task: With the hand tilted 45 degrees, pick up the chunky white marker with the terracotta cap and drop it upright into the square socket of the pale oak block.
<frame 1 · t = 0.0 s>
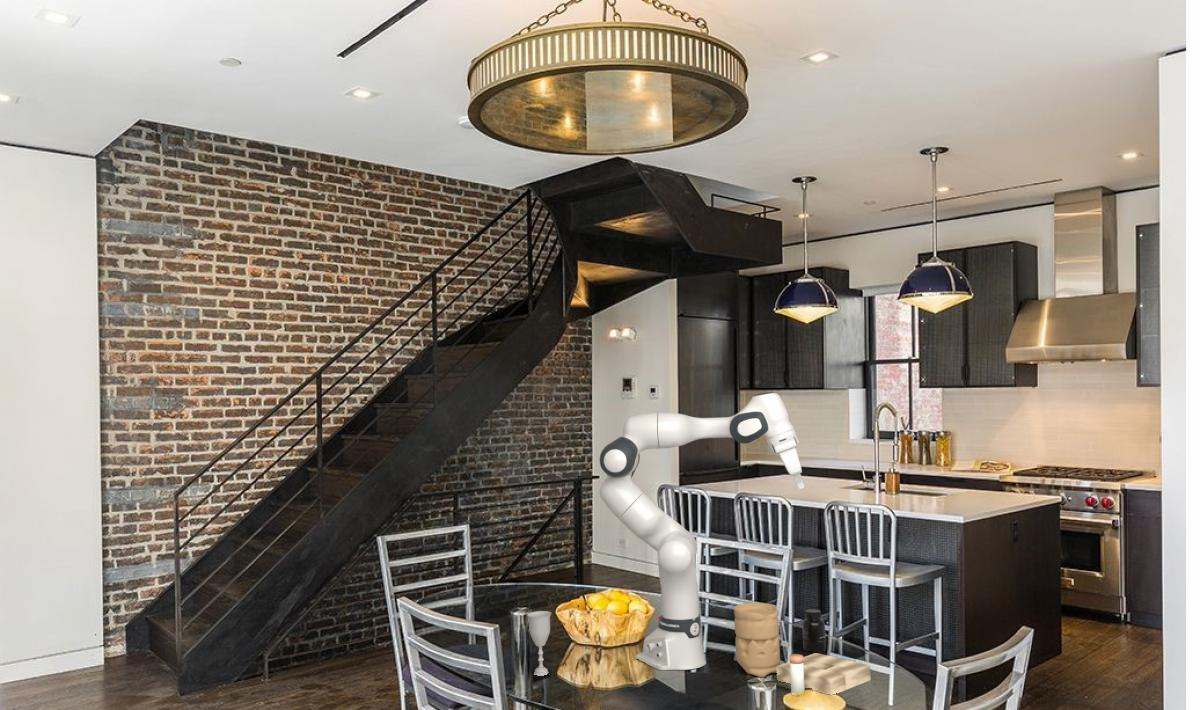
hand: (801, 486, 265), 52 cm above the table, tool tilted 20°, fingers open, 8 cm apart
socket block: (823, 680, 248), on the table
chalice: (541, 677, 261), on the table
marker: (798, 694, 237), on the table
supplement bottle: (814, 650, 278), on the table
container: (758, 671, 259), on the table
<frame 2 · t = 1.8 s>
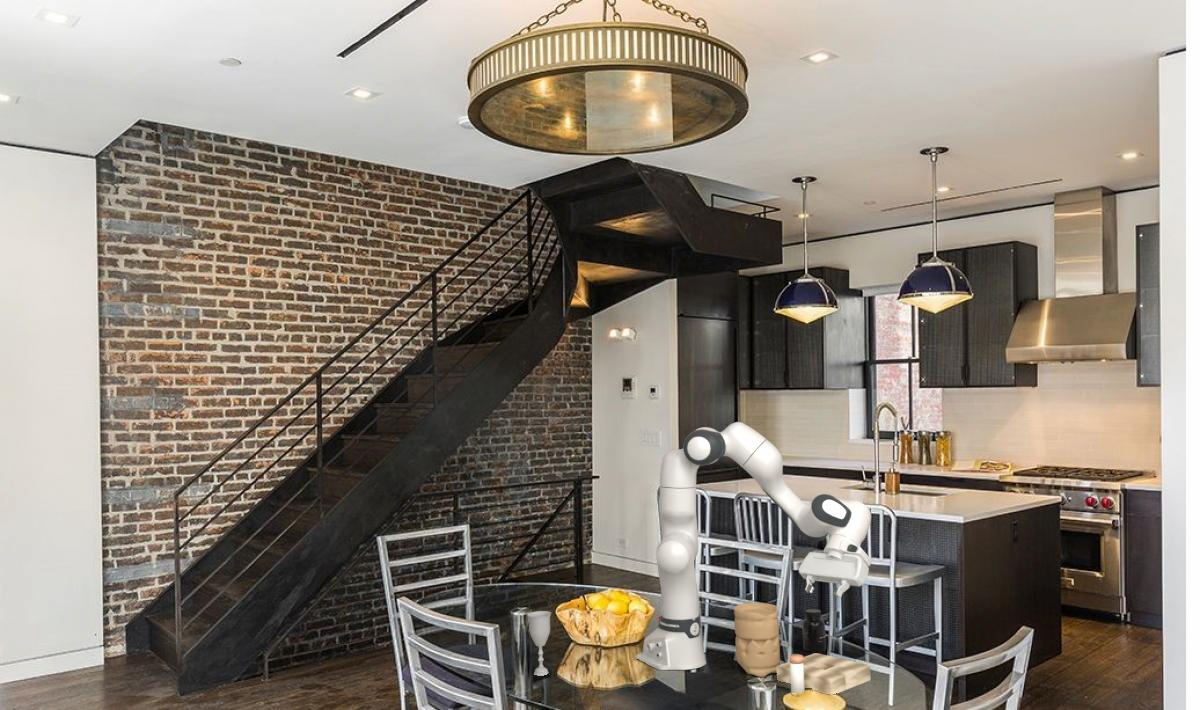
hand: (822, 593, 247), 24 cm above the table, tool tilted 45°, fingers open, 8 cm apart
nothing on the table moved.
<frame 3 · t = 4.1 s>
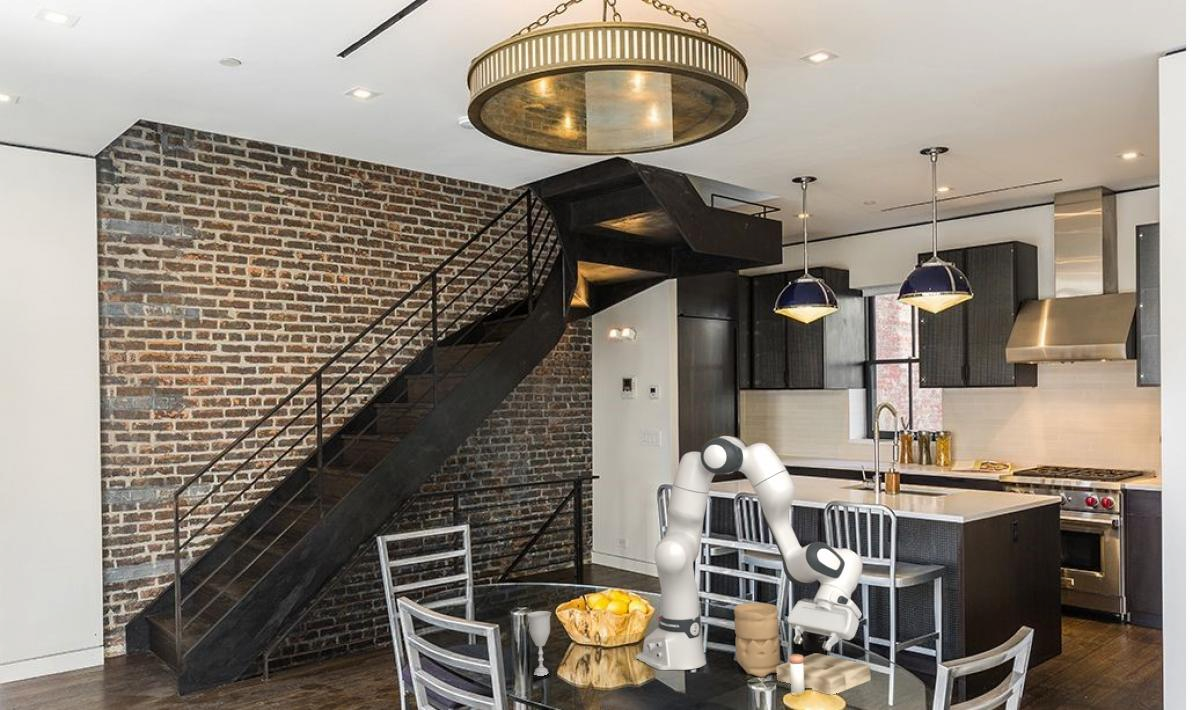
hand: (811, 645, 242), 11 cm above the table, tool tilted 45°, fingers open, 8 cm apart
nothing on the table moved.
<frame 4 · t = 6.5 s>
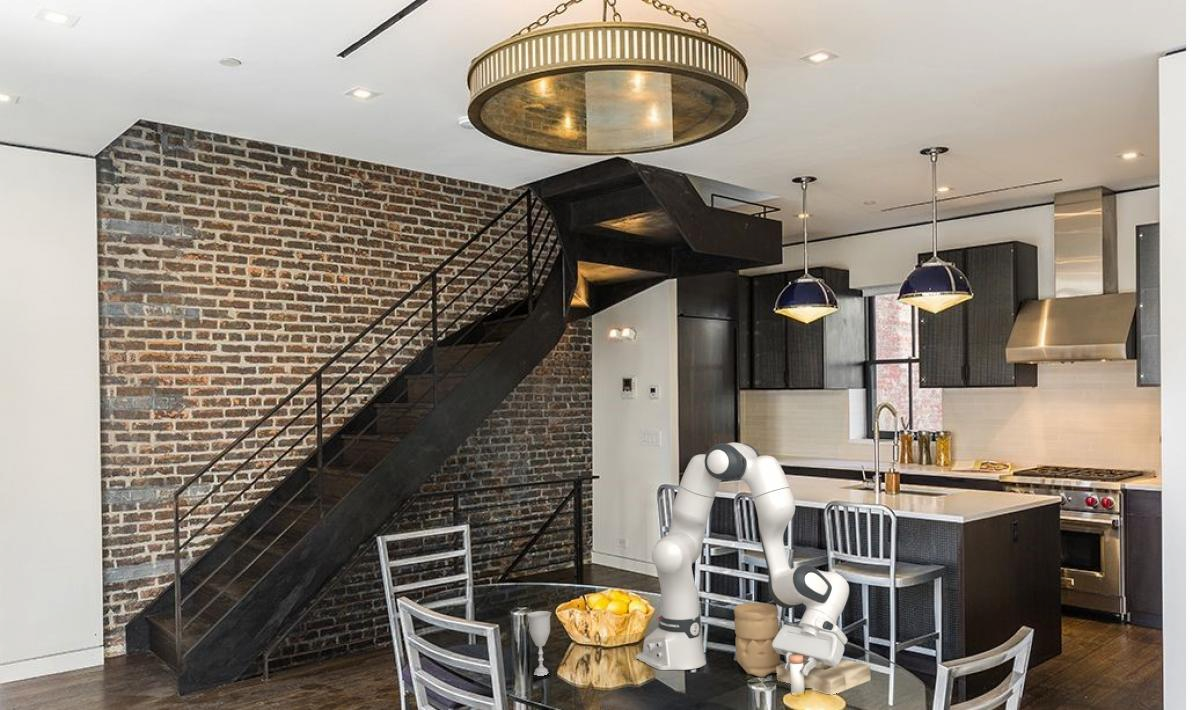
hand: (795, 672, 237), 6 cm above the table, tool tilted 45°, fingers closed on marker, 3 cm apart
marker: (798, 694, 237), on the table, touching gripper
everything else where it was.
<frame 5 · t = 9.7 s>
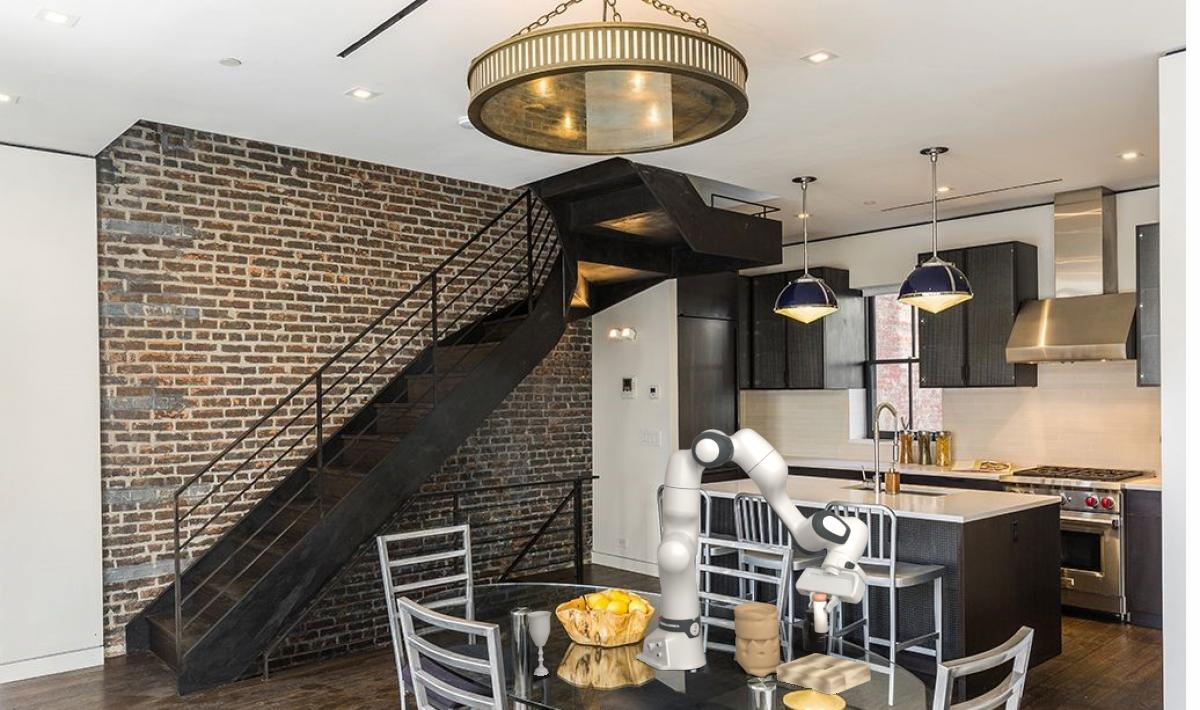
hand: (818, 609, 248), 19 cm above the table, tool tilted 45°, fingers closed on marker, 3 cm apart
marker: (821, 631, 248), point 14 cm above the table, touching gripper
everything else where it was.
when the fingers open (7 cm above the table, at t = 12.9 s): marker drops 1 cm, resting in socket block.
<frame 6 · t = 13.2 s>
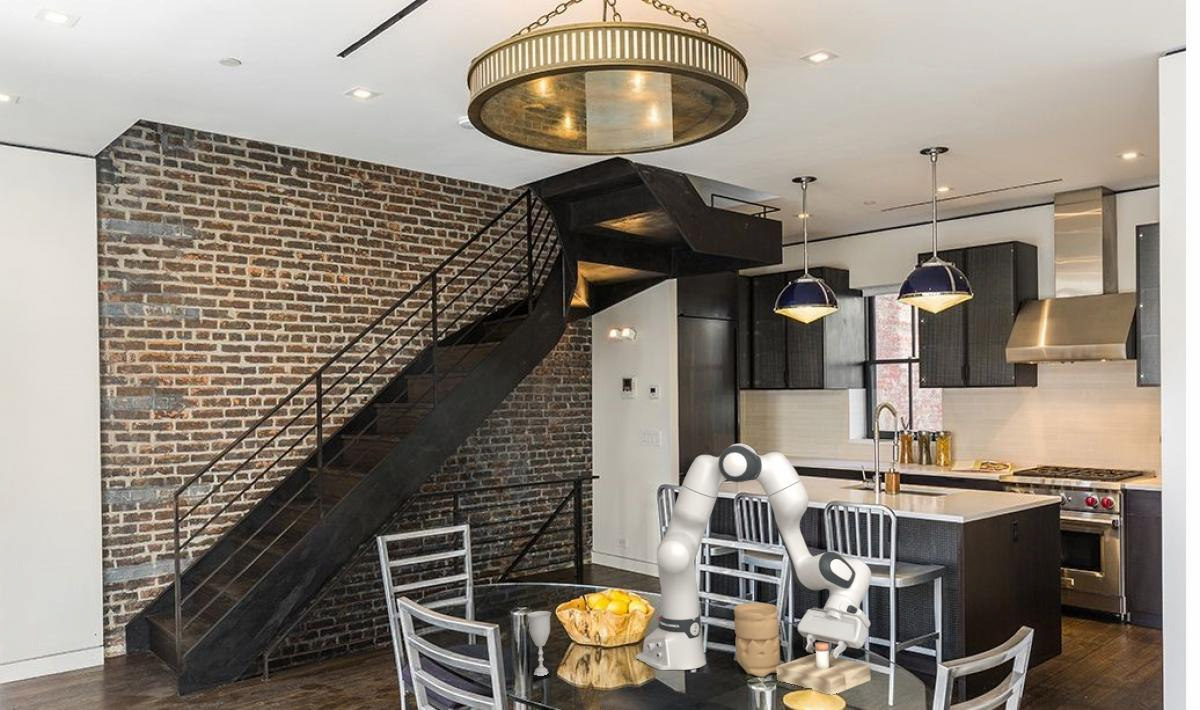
hand: (820, 654, 248), 7 cm above the table, tool tilted 45°, fingers open, 7 cm apart
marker: (823, 680, 248), resting in socket block
everything else where it was.
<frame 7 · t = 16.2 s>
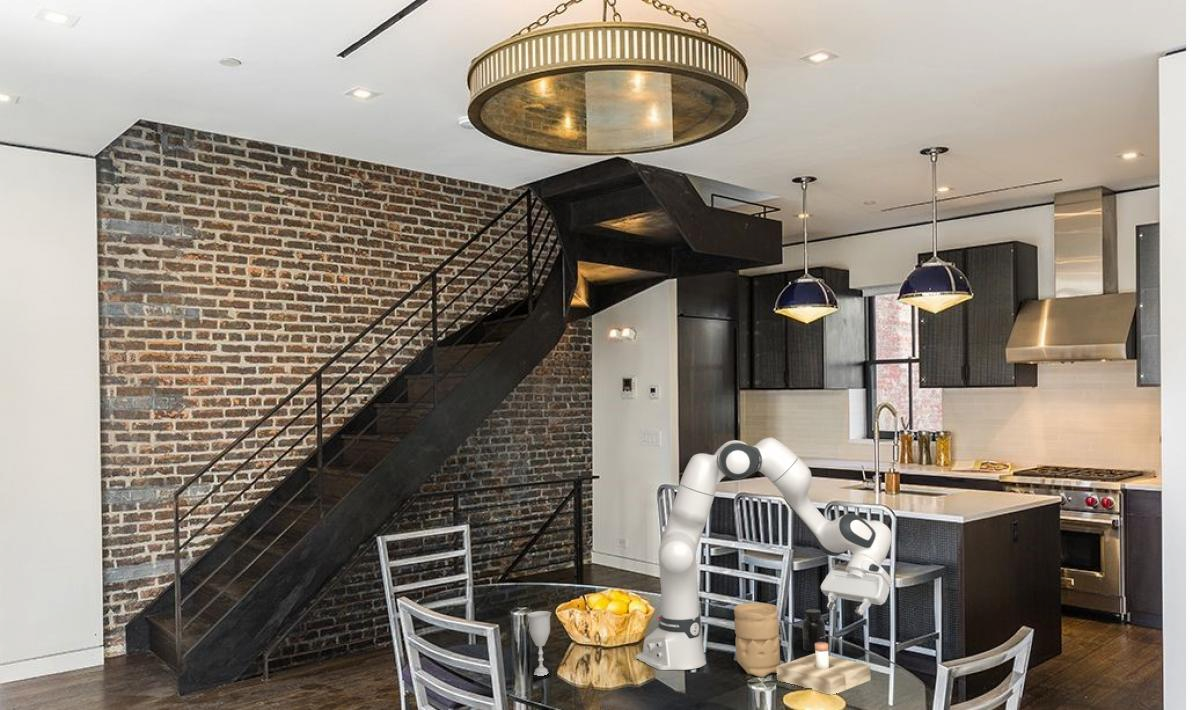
hand: (844, 611, 256), 17 cm above the table, tool tilted 45°, fingers open, 8 cm apart
nothing on the table moved.
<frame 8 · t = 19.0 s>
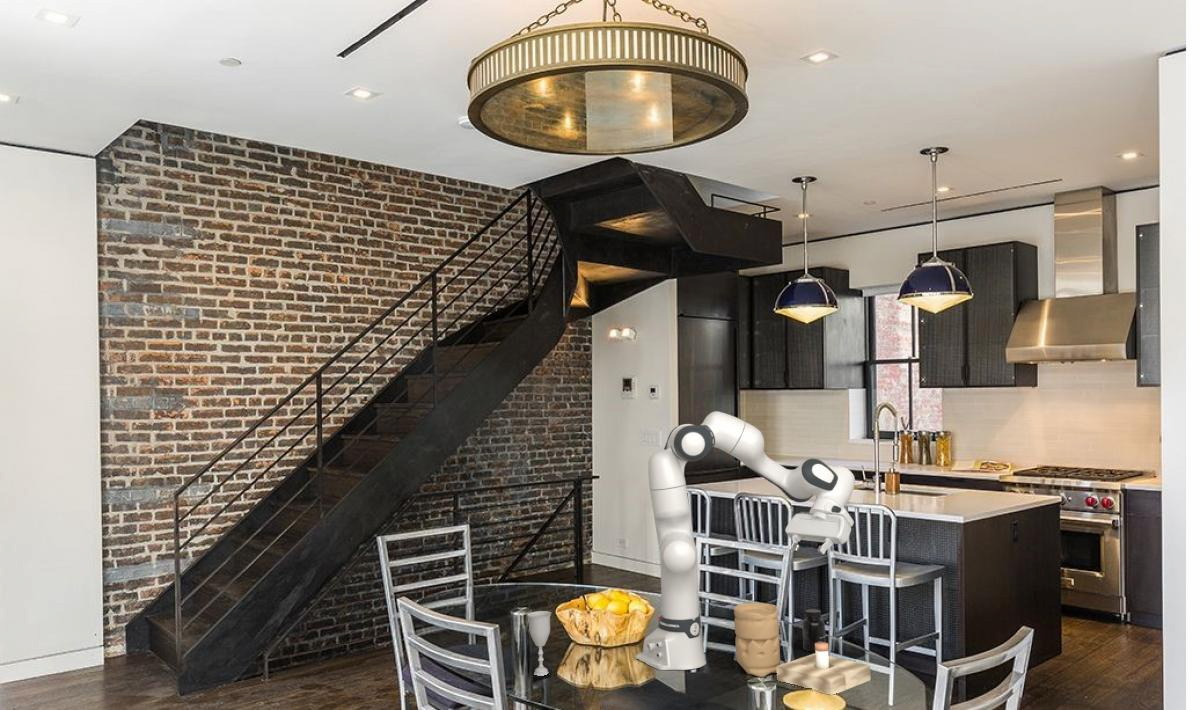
hand: (806, 551, 263), 33 cm above the table, tool tilted 45°, fingers open, 8 cm apart
nothing on the table moved.
at the end: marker 0.1 cm off-centre on the socket block, point 0.0 cm above the socket block's base; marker tilted 0°; the gripper is holding nothing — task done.
